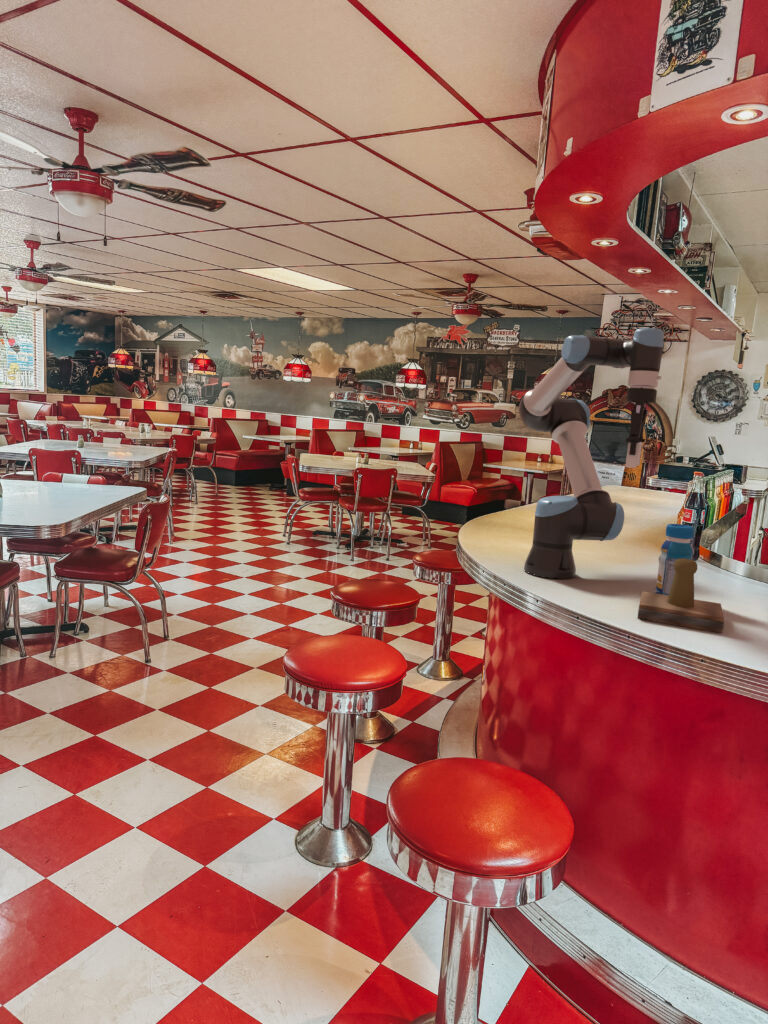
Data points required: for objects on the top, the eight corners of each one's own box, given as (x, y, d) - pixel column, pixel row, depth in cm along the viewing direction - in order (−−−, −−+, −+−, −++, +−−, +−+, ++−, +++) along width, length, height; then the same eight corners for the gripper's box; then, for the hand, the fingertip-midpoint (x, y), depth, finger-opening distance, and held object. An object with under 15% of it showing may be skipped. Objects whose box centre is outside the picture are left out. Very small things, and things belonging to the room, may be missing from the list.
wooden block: (637, 619, 152) (639, 605, 152) (640, 604, 166) (642, 591, 165) (722, 634, 145) (724, 619, 145) (718, 617, 159) (720, 603, 158)
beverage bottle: (673, 604, 168) (683, 529, 165) (647, 595, 176) (656, 523, 173) (695, 601, 172) (705, 528, 169) (668, 593, 180) (677, 522, 177)
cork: (692, 602, 157) (698, 558, 156) (695, 608, 152) (702, 563, 150) (665, 598, 159) (671, 555, 158) (668, 604, 154) (674, 560, 152)
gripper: (655, 385, 161) (644, 470, 164) (658, 391, 183) (649, 465, 187) (624, 384, 164) (613, 467, 167) (630, 389, 186) (621, 462, 190)
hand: (632, 466), depth 177 cm, fingers open, 13 cm apart
